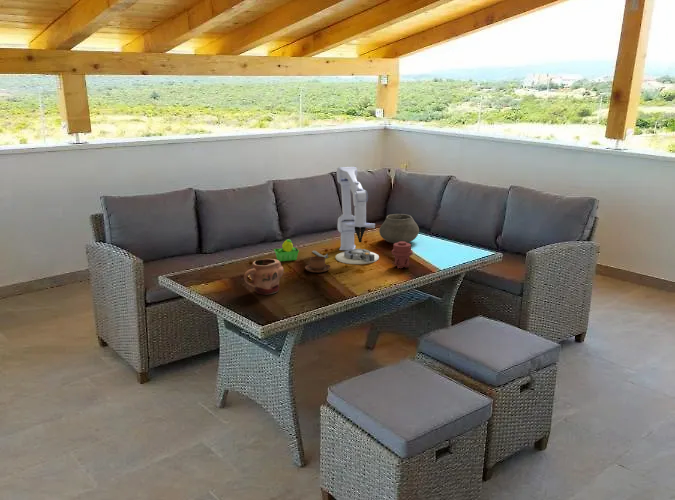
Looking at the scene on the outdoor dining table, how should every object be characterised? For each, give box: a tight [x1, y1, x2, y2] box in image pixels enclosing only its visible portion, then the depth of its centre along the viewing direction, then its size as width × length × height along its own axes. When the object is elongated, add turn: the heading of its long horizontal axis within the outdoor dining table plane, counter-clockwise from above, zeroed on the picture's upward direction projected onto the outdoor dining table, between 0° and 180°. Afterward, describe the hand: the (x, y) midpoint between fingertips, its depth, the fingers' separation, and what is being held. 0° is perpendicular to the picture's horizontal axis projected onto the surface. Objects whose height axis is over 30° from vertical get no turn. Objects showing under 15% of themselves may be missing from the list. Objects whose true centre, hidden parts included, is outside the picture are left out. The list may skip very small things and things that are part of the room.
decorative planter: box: [243, 258, 285, 296], centre depth 257 cm, size 20×12×14 cm, turn 139°
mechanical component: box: [391, 241, 414, 269], centre depth 292 cm, size 12×10×10 cm
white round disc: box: [335, 250, 380, 265], centre depth 309 cm, size 22×22×4 cm
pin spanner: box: [311, 249, 329, 259], centre depth 315 cm, size 13×3×2 cm, turn 24°
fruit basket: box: [273, 238, 300, 262], centre depth 305 cm, size 11×9×11 cm
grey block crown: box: [343, 248, 371, 262], centre depth 306 cm, size 13×17×4 cm
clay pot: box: [378, 213, 420, 244], centre depth 336 cm, size 22×21×15 cm
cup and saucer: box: [304, 255, 331, 274], centre depth 289 cm, size 12×12×6 cm
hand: (360, 241), depth 302 cm, fingers closed
